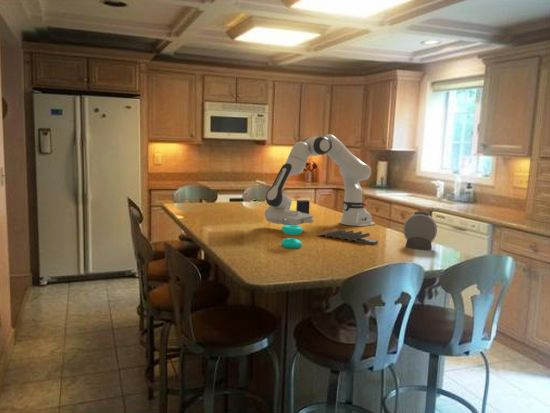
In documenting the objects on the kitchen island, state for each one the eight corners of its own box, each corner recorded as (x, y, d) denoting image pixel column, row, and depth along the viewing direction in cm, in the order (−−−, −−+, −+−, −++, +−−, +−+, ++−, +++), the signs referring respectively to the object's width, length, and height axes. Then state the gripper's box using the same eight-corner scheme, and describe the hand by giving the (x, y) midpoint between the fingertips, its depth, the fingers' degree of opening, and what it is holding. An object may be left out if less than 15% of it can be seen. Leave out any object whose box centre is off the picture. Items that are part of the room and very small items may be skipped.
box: (306, 215, 329) (307, 200, 327) (309, 216, 323) (309, 201, 322) (295, 215, 327) (296, 199, 326) (297, 216, 322) (298, 201, 320)
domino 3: (332, 235, 254) (348, 231, 248) (336, 234, 258) (353, 230, 252) (333, 238, 254) (349, 234, 248) (337, 237, 258) (353, 233, 252)
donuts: (284, 223, 234) (304, 225, 232) (283, 243, 236) (303, 245, 234) (280, 227, 224) (301, 228, 223) (279, 248, 226) (300, 249, 224)
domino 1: (317, 233, 259) (333, 229, 253) (321, 231, 263) (337, 227, 257) (317, 236, 259) (333, 232, 253) (322, 234, 263) (338, 230, 257)
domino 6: (355, 239, 247) (373, 242, 241) (359, 237, 251) (377, 240, 245) (355, 242, 247) (373, 245, 241) (359, 241, 251) (377, 243, 246)
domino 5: (347, 238, 249) (364, 234, 243) (352, 236, 253) (368, 232, 247) (348, 241, 249) (365, 237, 243) (353, 239, 253) (369, 235, 246)
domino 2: (324, 234, 256) (340, 230, 251) (329, 233, 260) (345, 228, 255) (325, 237, 256) (341, 233, 250) (329, 236, 260) (345, 231, 255)
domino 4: (340, 236, 251) (356, 232, 245) (345, 235, 255) (361, 231, 249) (341, 239, 251) (357, 235, 245) (346, 238, 255) (362, 234, 249)
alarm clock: (435, 247, 243) (438, 211, 240) (435, 251, 233) (438, 214, 231) (402, 243, 248) (405, 209, 246) (401, 247, 239) (404, 211, 236)
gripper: (281, 214, 260) (303, 217, 253) (299, 210, 277) (320, 213, 270) (280, 225, 261) (303, 229, 254) (298, 221, 278) (320, 224, 271)
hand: (312, 221), depth 262 cm, fingers closed
